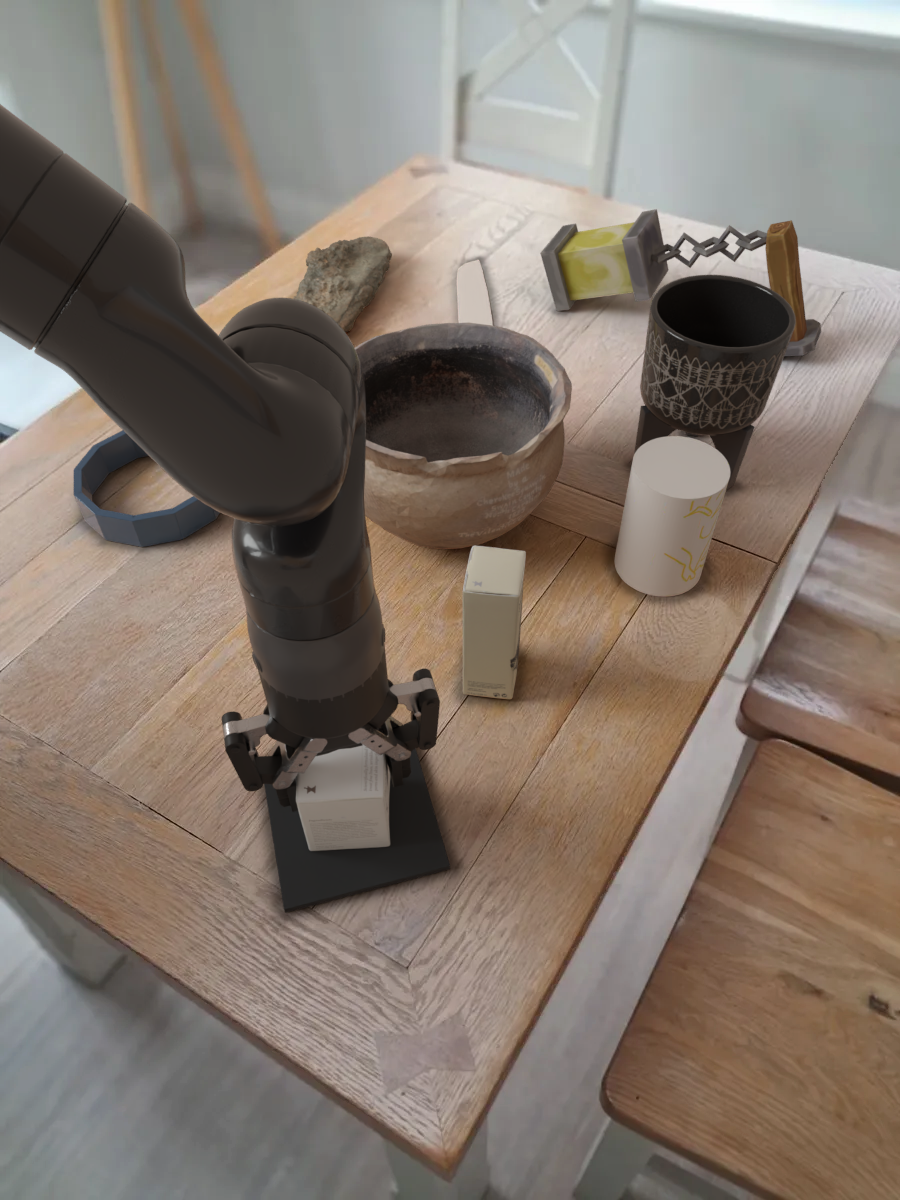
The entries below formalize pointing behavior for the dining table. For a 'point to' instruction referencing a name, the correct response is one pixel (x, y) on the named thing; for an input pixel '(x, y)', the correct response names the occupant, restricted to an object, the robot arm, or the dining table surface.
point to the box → (492, 621)
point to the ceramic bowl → (460, 431)
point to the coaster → (363, 868)
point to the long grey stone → (345, 277)
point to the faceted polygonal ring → (127, 526)
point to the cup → (670, 514)
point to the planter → (712, 360)
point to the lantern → (666, 265)
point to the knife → (473, 295)
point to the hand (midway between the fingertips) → (345, 787)
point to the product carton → (345, 800)
